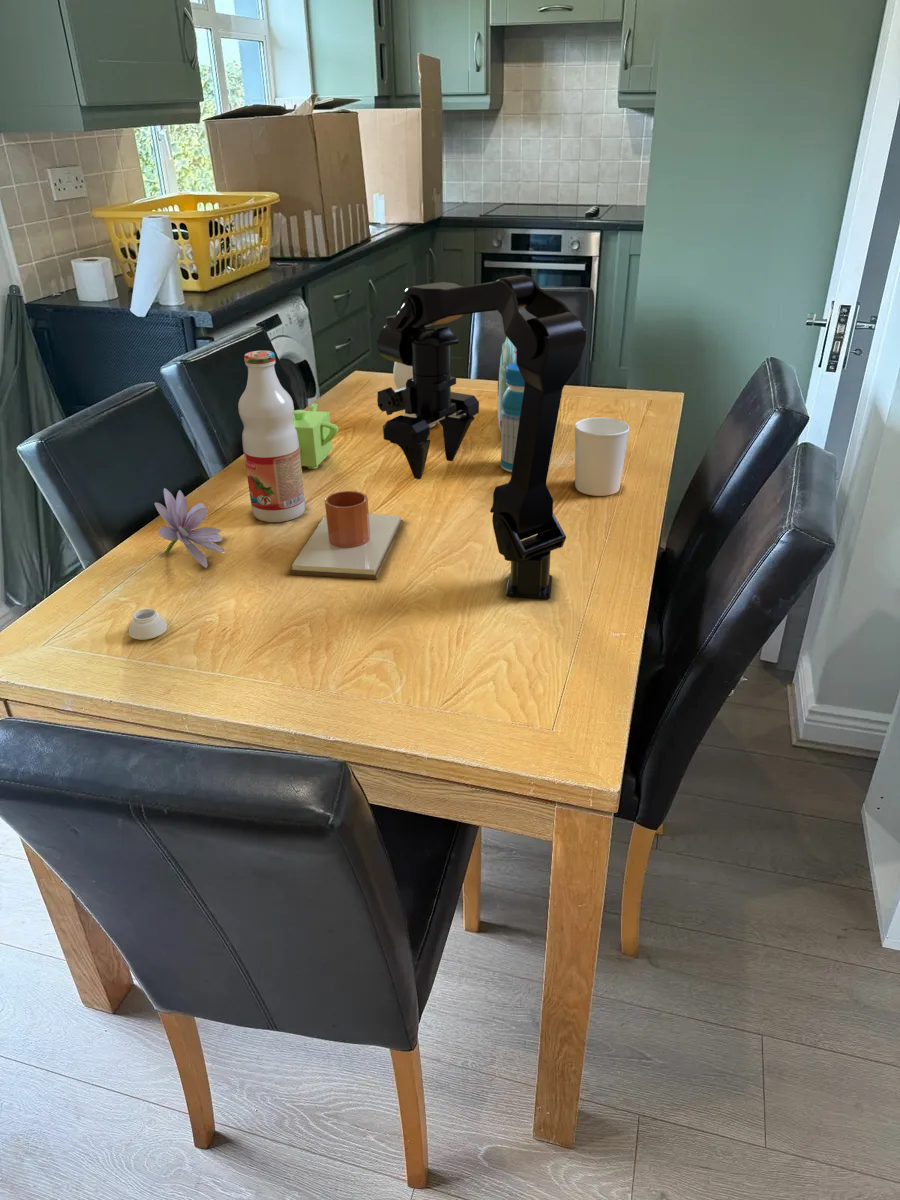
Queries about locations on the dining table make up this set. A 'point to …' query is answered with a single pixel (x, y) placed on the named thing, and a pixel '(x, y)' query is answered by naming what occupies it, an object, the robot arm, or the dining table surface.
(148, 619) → the lidless jar
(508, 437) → the beverage bottle
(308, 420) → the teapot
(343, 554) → the tile
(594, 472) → the white tumbler
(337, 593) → the dining table surface
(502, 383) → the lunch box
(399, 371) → the cup
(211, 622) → the dining table surface
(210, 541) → the water lily
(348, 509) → the pot
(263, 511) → the fruit juice
